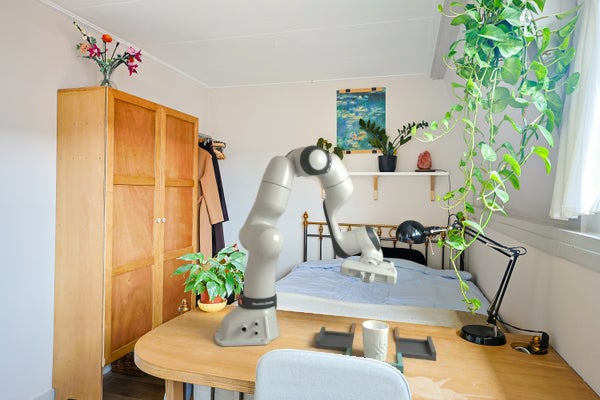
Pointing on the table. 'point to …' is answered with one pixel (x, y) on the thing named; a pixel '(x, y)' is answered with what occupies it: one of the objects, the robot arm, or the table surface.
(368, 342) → the white cup
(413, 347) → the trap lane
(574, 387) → the table surface
